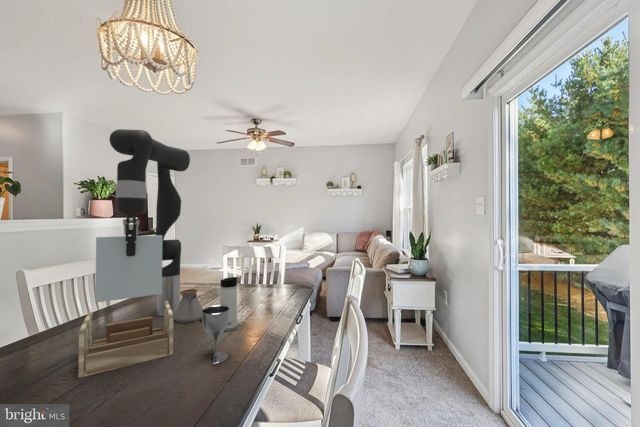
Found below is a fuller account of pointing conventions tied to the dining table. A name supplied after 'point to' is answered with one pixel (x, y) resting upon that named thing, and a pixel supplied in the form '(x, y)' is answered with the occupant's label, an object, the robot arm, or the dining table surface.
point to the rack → (123, 347)
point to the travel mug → (229, 300)
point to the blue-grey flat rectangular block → (128, 268)
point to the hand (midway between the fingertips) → (130, 255)
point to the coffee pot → (188, 307)
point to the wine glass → (216, 327)
